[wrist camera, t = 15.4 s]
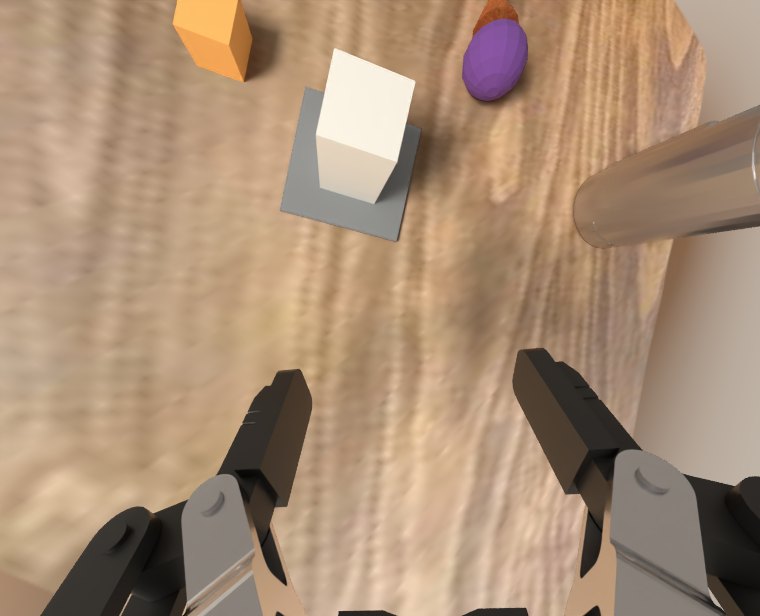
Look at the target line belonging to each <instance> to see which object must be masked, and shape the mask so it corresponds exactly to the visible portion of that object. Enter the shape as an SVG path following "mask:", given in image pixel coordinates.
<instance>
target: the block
mask: <svg viewBox="0 0 760 616" xmlns="http://www.w3.org/2000/svg"><path fill="white" fill-rule="evenodd" d="M173 25H174V27H175V29H176V30H177V32H178V34H179V36H180V37H181V39H182V41H183V42H184V44H185V46H186V47H187V49H188V51H189V53H190V54H191V56H192V58H193V59H194V61H195V63H196V64H197V66H199V67H202V68H205V69H208V70H211V71H213V72H216V73H219V74H222V75H225V76H227V77H230V78H233V79H236V80H239V81H242V82H244V79H245V74H246V69H247V65H248V60H249V55H250V50H251V45H252V40H253V39H252V36H251V32H250V29H249V26H248V23H247V19H246V16H245V13H244V9H243V6H242V3H241V0H178V1H177V6H176V11H175V16H174V21H173Z"/></svg>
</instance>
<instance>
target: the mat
mask: <svg viewBox="0 0 760 616" xmlns="http://www.w3.org/2000/svg"><path fill="white" fill-rule="evenodd" d="M324 94H325V93H322V92H320V91H317V90H314V89H311V88H309V87H305V91H304V96H303V101H302V106H301V111H300V115H299V120H298V125H297V130H296V135H295V140H294V144H293V149H292V154H291V159H290V164H289V168H288V173H287V178H286V183H285V188H284V192H283V197H282V202H281V207H280V211H283V212H287V213H290V214H294V215H298V216H301V217H305V218H309V219H313V220H316V221H320V222H324V223H327V224H331V225H335V226H339V227H342V228H346V229H350V230H353V231H357V232H361V233H365V234H368V235H372V236H376V237H379V238H383V239H387V240H391V241H394V242H396V241H397V237H398V232H399V228H400V223H401V219H402V214H403V210H404V205H405V201H406V196H407V192H408V187H409V183H410V178H411V174H412V169H413V165H414V160H415V156H416V151H417V147H418V142H419V138H420V133H421V128H418V127H415V126H413V125H410V124H407V123H406V125H405V130H404V134H403V138H402V143H401V147H400V152H399V156H398V161H397V163H396V165H395V167H394V169H393V171H392V172H391V174H390V176H389V178H388V180H387V182H386V183H385V185H384V187H383V189H382V191H381V192H380V194H379V196H378V198H377V200H376V202H375V203H374V204H372V203H369V202H365V201H362V200H359V199H355V198H352V197H349V196H346V195H342V194H339V193H336V192H332V191H329V190H326V189H322V188H320V182H319V170H318V157H317V145H316V131H317V126H318V122H319V117H320V112H321V108H322V103H323V98H324Z"/></svg>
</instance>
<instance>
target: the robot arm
mask: <svg viewBox="0 0 760 616" xmlns="http://www.w3.org/2000/svg"><path fill="white" fill-rule="evenodd" d="M574 219H575V223H576V227H577V229H578V231H579V233H580V235H581V236H582V237H583V238H584V240H585V241H586V242H588V243H589V244H590V245H592V246H595V247H598V248H610V247H617V246H625V245H632V244H639V243H647V242H654V241H661V240H668V239H675V238H682V237H689V236H696V235H703V234H710V233H717V232H724V231H731V230H738V229H745V228H752V227H758V226H760V105H758V106H756V107H753V108H751V109H749V110H746V111H744V112H742V113H739V114H737V115H735V116H732V117H730V118H727V119H725V120H723V121H720V122H719V121H711V122H708V123H705V124H703V125H701V126H699V127H696V128H694V129H692V130H689V131H687V132H685V133H683V134H680V135H678V136H676V137H673V138H671V139H669V140H666V141H664V142H662V143H660V144H657V145H655V146H653V147H650V148H648V149H646V150H644V151H641V152H639V153H637V154H634V155H632V156H630V157H627V158H625V159H623V160H621V161H618V162H616V163H614V164H611V165H609V166H608V167H607V168H606V170H604V171H602V172H600V173H597V174H595V175H593V176H591V177H590V178H588V179H587V180H586V181H585V182H584V183H583V185H582V186H581V187H580V189H579V191H578V193H577V196H576V199H575V203H574ZM513 389H514V393H515V396H516V398H517V400H518V402H519V404H520V406H521V408H522V410H523V412H524V414H525V415H526V417H527V419H528V421H529V423H530V425H531V427H532V429H533V431H534V433H535V435H536V437H537V439H538V441H539V443H540V445H541V447H542V449H543V451H544V453H545V455H546V457H547V459H548V461H549V463H550V465H551V467H552V469H553V471H554V473H555V475H556V477H557V479H558V481H559V483H560V484H561V486H562V488H563V490H564V492H565V494H580V495H581V496H582V498H583V500H584V502H585V504H586V506H585V508H584V514H583V521H582V528H581V535H580V542H579V549H578V556H577V563H576V570H575V576H574V581H573V585H572V588H571V591H570V593H569V596H568V600H567V604H566V608H565V614H564V616H760V477H757V476H754V477H748V478H745V479H744V480H742V481H741V482H740V483H739V484H738V485H736V486H732V485H727V484H723V483H719V482H715V481H710V480H706V479H702V478H697V477H693V476H689V475H686V474H682V473H680V471H678V470H677V469H676V468H675V467H674V466H672V465H671V464H670V463H668V462H667V461H665V460H663V459H661V458H660V457H658V456H656V455H653V454H651V453H648V452H645V451H643V450H642V449H641V448H640V447H639V446H638V445H637V444H636V442H635V441H634V440H633V439H632V437H631V436H630V435H629V434H628V432H627V431H626V430H625V429H624V428H623V426H622V425H621V424H620V423H619V422H618V420H617V419H616V418H615V417H614V415H613V414H612V413H611V412H610V411H609V409H608V408H607V407H606V406H605V404H604V403H603V402H602V401H601V400H599V399H598V396H597V395H596V393H595V392H594V391H593V390H592V389H591V388H589V385H588V384H587V382H586V381H585V380H584V379H583V378H582V376H581V375H580V374H579V373H578V372H577V371H576V370H574V369H573V368H571V367H570V366H568V365H567V364H565V363H564V362H563V361H562V362H555V361H554V360H553V358H552V357H551V356H550V354H549V353H548V352H547V350H545V349H544V348H535V349H523V350H519V351H518V354H517V359H516V364H515V369H514V375H513ZM311 411H312V397H311V394H310V391H309V389H308V386H307V384H306V381H305V379H304V376H303V374H302V372H301V370H300V369H293V370H282V371H278V372H277V374H276V376H275V378H274V380H273V383H272V385H271V386H265V387H264V388H263V389H262V390H261V391H260V392H259V394H258V395H257V396H256V397H255V398H254V400H253V402H252V404H251V406H250V408H249V410H248V414H246V416H245V418H244V420H243V422H242V423H243V425H241V427H240V429H239V431H238V433H237V435H236V437H235V439H234V441H233V443H232V445H231V447H230V449H229V451H228V453H227V455H226V458H225V460H224V462H223V464H222V466H221V468H220V470H219V471H218V473H217V475H216V476H214V477H212V478H210V479H208V480H207V481H205V482H204V483H203V484H202V485H200V486H199V487H198V488H197V489H196V490H195V491H194V493H193V494H192V495H191V496H190V498H189V499H188V500H186V501H183V502H181V503H178V504H176V505H173V506H171V507H168V508H166V509H163V510H161V511H158V512H156V513H151V512H150V511H149V510H147V509H146V508H144V507H132V508H130V509H127V510H125V511H123V512H121V513H119V514H118V515H116V516H115V517H114V518H112V519H111V520H110V521H109V522H107V523H106V524H105V525H104V526H103V527H102V528H101V529H100V530H99V531H98V532H97V534H96V535H95V536H94V537H93V539H92V540H91V541H90V543H89V544H88V546H87V547H86V549H85V550H84V552H83V553H82V555H81V556H80V558H79V559H78V561H77V562H76V563H75V565H74V566H73V568H72V569H71V571H70V572H69V574H68V575H67V577H66V578H65V580H64V581H63V583H62V584H61V586H60V587H59V589H58V590H57V592H56V593H55V595H54V596H53V598H52V599H51V601H50V602H49V604H48V605H47V606H46V608H45V609H44V611H43V613H42V614H41V616H119V615H120V613H121V611H122V609H123V607H124V605H125V603H126V601H127V599H128V597H129V595H130V594H132V595H131V597H130V599H129V601H128V603H127V605H126V607H125V609H124V611H123V613H122V615H121V616H182V614H183V611H184V608H185V606H186V603H187V609H186V612H185V614H184V615H183V616H307V615H306V612H305V610H304V607H303V605H302V603H301V601H300V599H299V597H298V595H297V594H296V592H295V590H294V587H293V585H292V582H291V579H290V576H289V573H288V570H287V567H286V564H285V561H284V558H283V555H282V552H281V549H280V545H279V542H278V539H277V536H276V533H275V530H274V527H273V524H272V522H271V519H272V515H273V512H274V508H275V507H287V505H288V501H289V497H290V493H291V489H292V485H293V482H294V478H295V474H296V470H297V466H298V462H299V458H300V454H301V450H302V446H303V442H304V439H305V435H306V431H307V427H308V423H309V419H310V415H311ZM708 587H709V589H710V590H711V592H712V593H713V595H714V596H715V598H716V599H717V600H718V602H719V604H720V605H721V607H722V608H723V610H724V611H725V612H724V611H723V610H722V609H721V608H720V607H718V606H716V605H715V604H714V603H713V601H712V600H711V597H710V595H709V591H708ZM338 616H396V615H394V614H391V613H388V612H386V611H383V610H377V611H339V614H338ZM463 616H528V613H527V609H526V608H486V609H476V610H474V611H472V612H469V613H467V614H465V615H463Z"/></svg>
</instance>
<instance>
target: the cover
mask: <svg viewBox="0 0 760 616" xmlns="http://www.w3.org/2000/svg"><path fill="white" fill-rule="evenodd" d="M414 85H415V81H414V80H411V79H409V78H407V77H404V76H402V75H399V74H397V73H394V72H392V71H389V70H387V69H384V68H382V67H380V66H377V65H375V64H372V63H370V62H367V61H365V60H362V59H360V58H358V57H355V56H353V55H350V54H348V53H345V52H343V51H340V50H338V49H335V48H334V52H333V57H332V61H331V66H330V71H329V75H328V80H327V85H326V89H325V94H324V98H323V103H322V108H321V112H320V117H319V122H318V126H317V131H316V145H317V157H318V170H319V182H320V188H322V189H326V190H329V191H332V192H336V193H339V194H342V195H346V196H349V197H352V198H355V199H359V200H362V201H365V202H369V203H372V204H374V203H375V202H376V200H377V198H378V196H379V194H380V192H381V191H382V189H383V187H384V185H385V183H386V182H387V180H388V178H389V176H390V174H391V172H392V171H393V169H394V167H395V165H396V163H397V161H398V156H399V152H400V147H401V143H402V138H403V134H404V130H405V125H406V121H407V116H408V112H409V107H410V103H411V99H412V94H413V90H414Z"/></svg>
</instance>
